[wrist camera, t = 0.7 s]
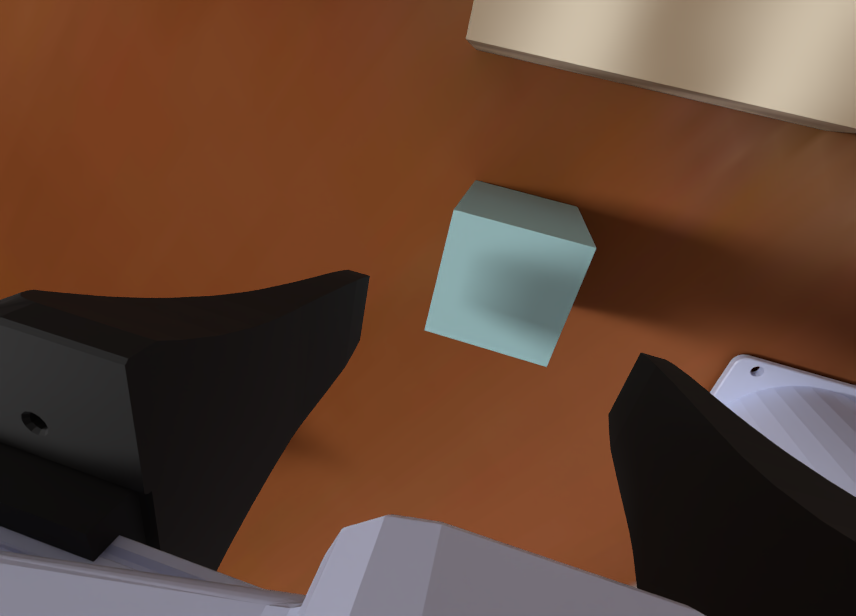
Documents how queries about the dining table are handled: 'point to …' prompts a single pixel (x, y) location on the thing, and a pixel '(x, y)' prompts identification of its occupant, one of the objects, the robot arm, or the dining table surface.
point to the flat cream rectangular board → (693, 49)
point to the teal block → (510, 272)
